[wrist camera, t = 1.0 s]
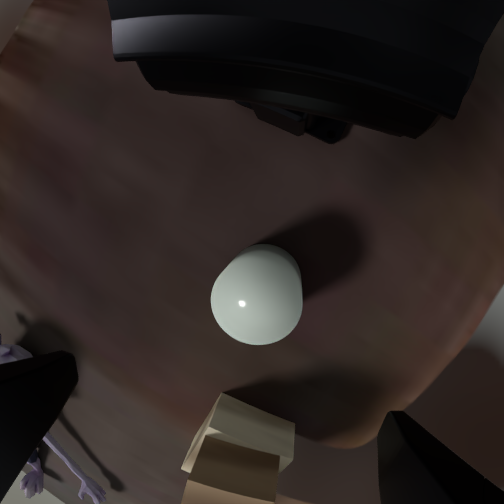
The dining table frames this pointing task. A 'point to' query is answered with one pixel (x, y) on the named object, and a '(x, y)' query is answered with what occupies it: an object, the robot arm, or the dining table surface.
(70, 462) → the toy
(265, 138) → the dining table surface
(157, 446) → the dining table surface
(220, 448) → the top block
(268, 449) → the base block
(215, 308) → the grey rounded cylinder
